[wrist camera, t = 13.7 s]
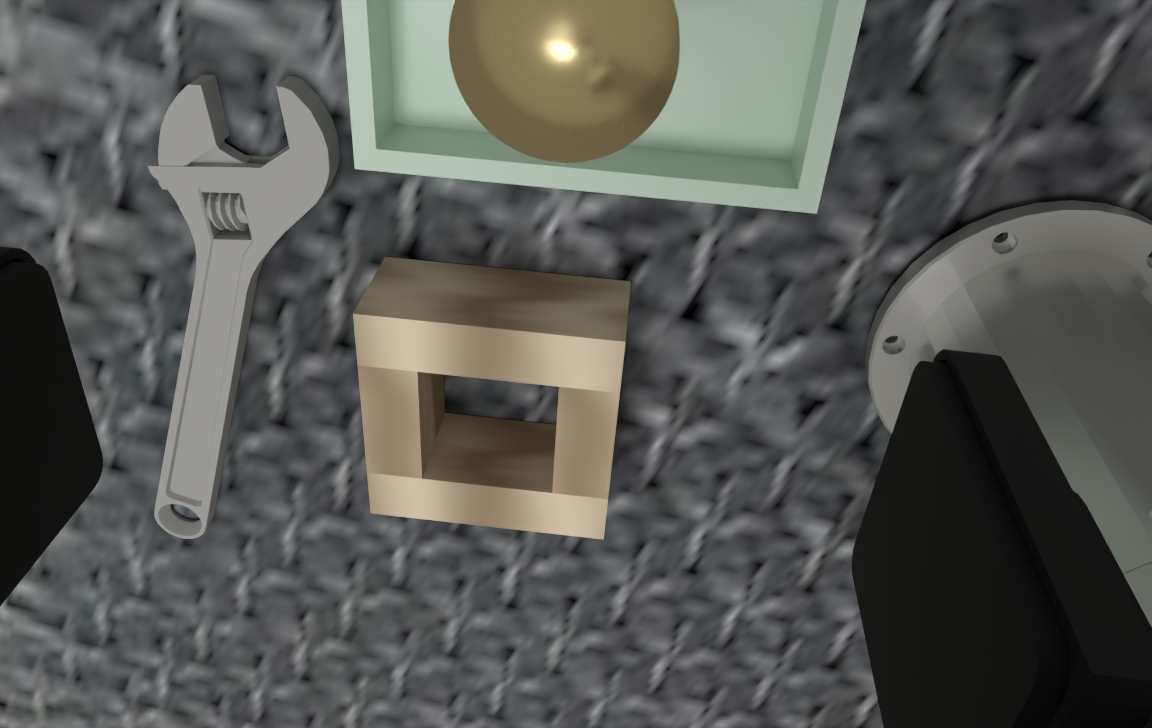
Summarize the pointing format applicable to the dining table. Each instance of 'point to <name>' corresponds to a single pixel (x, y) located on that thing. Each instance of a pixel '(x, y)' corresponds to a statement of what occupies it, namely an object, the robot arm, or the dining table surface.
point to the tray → (674, 140)
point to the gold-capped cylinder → (565, 71)
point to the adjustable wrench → (227, 266)
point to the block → (498, 352)
